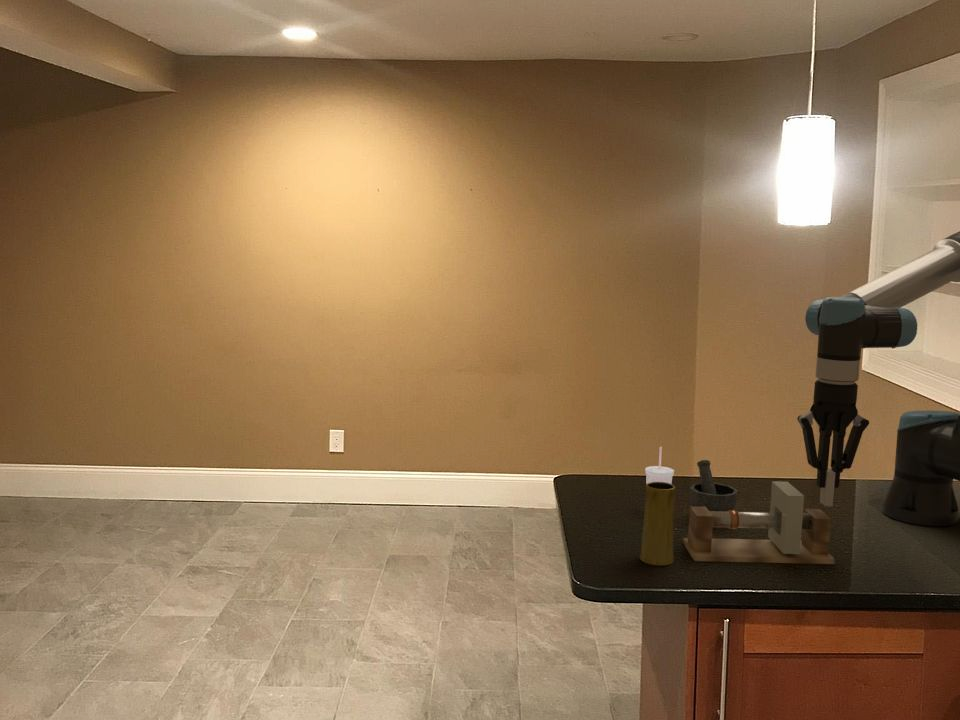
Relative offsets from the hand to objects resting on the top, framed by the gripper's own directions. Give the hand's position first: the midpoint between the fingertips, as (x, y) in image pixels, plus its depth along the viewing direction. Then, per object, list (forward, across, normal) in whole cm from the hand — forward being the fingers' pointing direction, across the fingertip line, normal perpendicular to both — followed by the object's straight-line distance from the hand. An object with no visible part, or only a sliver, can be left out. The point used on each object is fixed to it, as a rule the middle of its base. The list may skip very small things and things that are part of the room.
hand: (826, 503), depth 185 cm
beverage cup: (+10, +26, -26) cm, 39 cm away
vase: (+10, +32, +5) cm, 34 cm away
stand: (+10, +12, 0) cm, 16 cm away
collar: (+8, +8, 0) cm, 11 cm away
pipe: (+5, +13, 0) cm, 14 cm away
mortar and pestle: (+10, +16, -20) cm, 28 cm away
